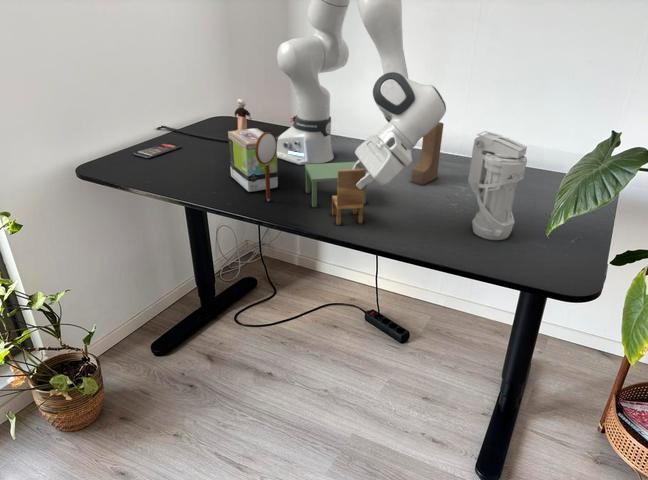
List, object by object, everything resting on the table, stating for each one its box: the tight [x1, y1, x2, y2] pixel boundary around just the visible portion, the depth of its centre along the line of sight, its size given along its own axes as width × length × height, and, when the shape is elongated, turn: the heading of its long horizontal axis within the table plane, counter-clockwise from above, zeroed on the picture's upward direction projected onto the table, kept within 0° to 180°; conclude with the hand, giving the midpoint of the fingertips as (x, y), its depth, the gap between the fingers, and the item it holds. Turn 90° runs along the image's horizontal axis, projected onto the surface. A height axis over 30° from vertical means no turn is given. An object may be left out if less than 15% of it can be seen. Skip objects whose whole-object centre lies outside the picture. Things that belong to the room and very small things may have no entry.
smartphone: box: [133, 141, 181, 159], centre depth 188 cm, size 7×1×15 cm
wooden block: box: [410, 121, 445, 186], centre depth 169 cm, size 9×4×18 cm, turn 141°
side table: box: [304, 161, 368, 208], centre depth 157 cm, size 12×16×8 cm
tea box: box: [227, 127, 279, 193], centre depth 163 cm, size 15×10×15 cm, turn 31°
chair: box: [331, 168, 366, 226], centre depth 143 cm, size 7×7×15 cm
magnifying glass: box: [255, 131, 277, 202], centre depth 150 cm, size 9×2×20 cm, turn 149°
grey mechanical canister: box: [467, 130, 528, 241], centre depth 137 cm, size 13×10×25 cm
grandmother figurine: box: [233, 98, 253, 130], centre depth 208 cm, size 8×4×13 cm, turn 81°
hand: (354, 181), depth 139 cm, fingers open, 6 cm apart
